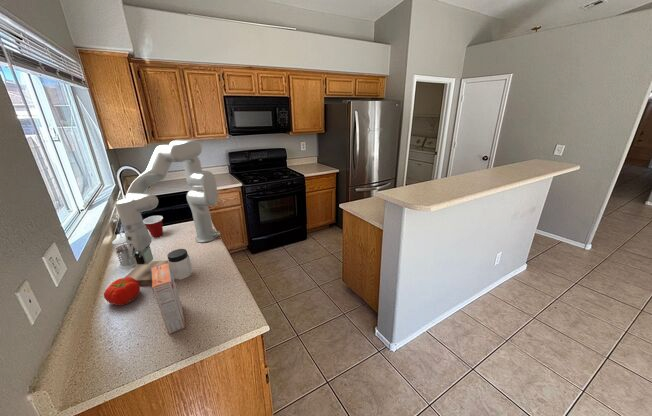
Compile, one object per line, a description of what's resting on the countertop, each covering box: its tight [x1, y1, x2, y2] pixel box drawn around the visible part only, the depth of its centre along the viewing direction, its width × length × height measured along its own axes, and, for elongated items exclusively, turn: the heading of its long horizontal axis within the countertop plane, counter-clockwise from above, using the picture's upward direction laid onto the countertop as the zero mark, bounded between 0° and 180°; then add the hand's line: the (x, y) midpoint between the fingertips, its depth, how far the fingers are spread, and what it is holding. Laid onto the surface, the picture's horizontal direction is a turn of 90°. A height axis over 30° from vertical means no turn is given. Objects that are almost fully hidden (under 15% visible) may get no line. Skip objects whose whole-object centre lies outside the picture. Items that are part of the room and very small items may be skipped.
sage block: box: [134, 247, 154, 266], centre depth 122 cm, size 5×5×6 cm
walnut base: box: [123, 259, 169, 287], centre depth 126 cm, size 16×16×3 cm
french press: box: [111, 219, 137, 269], centre depth 132 cm, size 10×12×25 cm
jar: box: [167, 248, 193, 280], centre depth 124 cm, size 9×8×12 cm
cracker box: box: [151, 263, 186, 335], centre depth 95 cm, size 14×6×21 cm, turn 32°
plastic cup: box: [143, 215, 164, 239], centre depth 164 cm, size 11×11×12 cm
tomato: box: [103, 276, 141, 306], centre depth 109 cm, size 13×12×8 cm
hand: (144, 260), depth 123 cm, fingers closed on sage block, 5 cm apart
